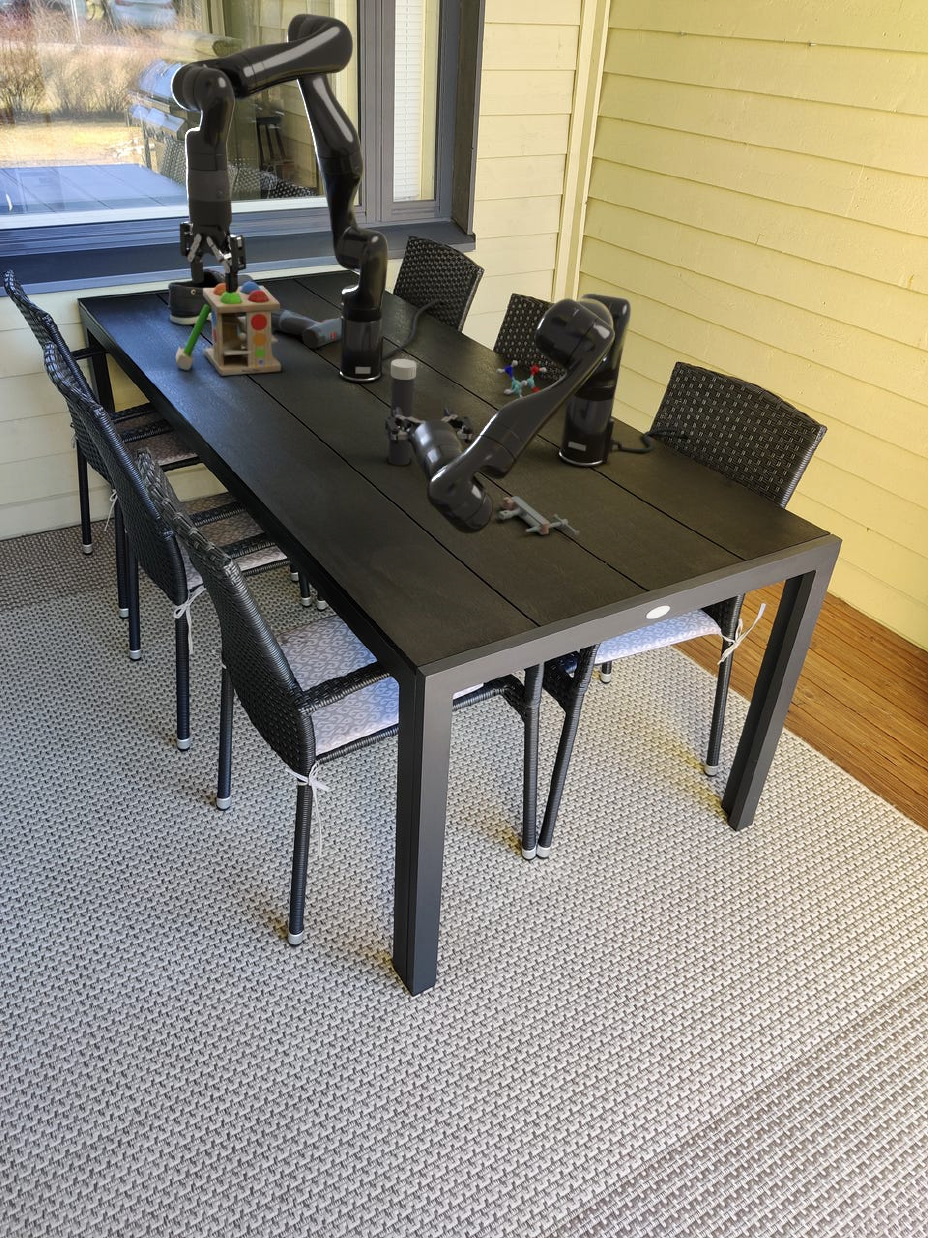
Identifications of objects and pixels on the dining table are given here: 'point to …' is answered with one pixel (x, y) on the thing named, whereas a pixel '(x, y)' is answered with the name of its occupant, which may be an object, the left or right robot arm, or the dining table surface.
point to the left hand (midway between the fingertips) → (214, 287)
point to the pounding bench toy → (229, 347)
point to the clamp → (530, 516)
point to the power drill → (307, 327)
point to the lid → (403, 369)
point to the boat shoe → (195, 296)
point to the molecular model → (516, 383)
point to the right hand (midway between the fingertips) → (421, 412)
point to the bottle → (404, 400)
